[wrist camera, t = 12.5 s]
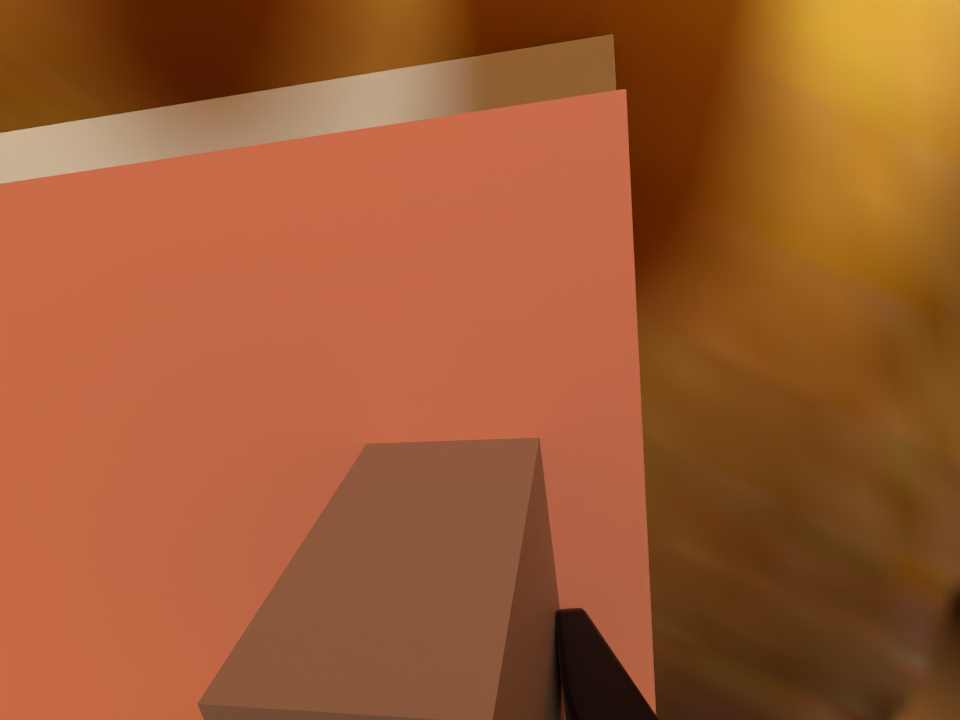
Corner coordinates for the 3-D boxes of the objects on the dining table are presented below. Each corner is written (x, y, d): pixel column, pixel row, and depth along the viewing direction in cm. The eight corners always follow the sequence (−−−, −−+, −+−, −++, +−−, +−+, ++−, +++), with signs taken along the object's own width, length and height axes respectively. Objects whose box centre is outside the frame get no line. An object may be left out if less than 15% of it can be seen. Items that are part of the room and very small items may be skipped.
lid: (660, 841, 12) (694, 1272, 8) (77, 784, 15) (-139, 1072, 11) (622, 89, 7) (667, 90, 3) (-252, 222, 10) (-937, 329, 6)
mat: (639, 573, 20) (642, 582, 20) (183, 611, 22) (177, 620, 22) (610, 35, 14) (613, 33, 14) (-21, 137, 16) (-34, 138, 15)
